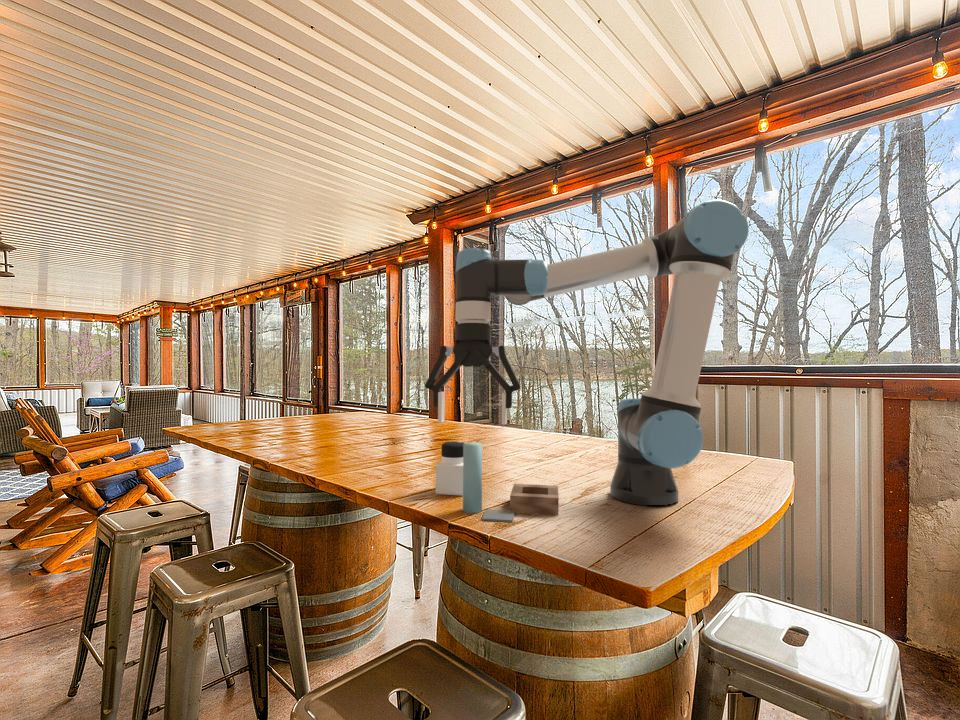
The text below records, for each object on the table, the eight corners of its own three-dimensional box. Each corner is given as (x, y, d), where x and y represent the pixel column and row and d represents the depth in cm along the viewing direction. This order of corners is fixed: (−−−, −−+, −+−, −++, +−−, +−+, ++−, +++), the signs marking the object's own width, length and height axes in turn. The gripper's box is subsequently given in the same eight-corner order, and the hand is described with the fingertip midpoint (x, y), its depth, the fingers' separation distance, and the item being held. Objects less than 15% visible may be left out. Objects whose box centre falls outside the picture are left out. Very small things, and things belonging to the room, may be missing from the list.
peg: (483, 508, 101) (483, 443, 101) (480, 513, 97) (480, 446, 97) (464, 507, 101) (465, 442, 101) (461, 512, 97) (461, 445, 97)
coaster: (514, 512, 98) (514, 510, 98) (512, 522, 92) (512, 520, 92) (486, 511, 99) (486, 509, 99) (482, 520, 93) (482, 518, 93)
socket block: (557, 501, 106) (557, 485, 106) (558, 515, 96) (558, 498, 96) (513, 498, 108) (513, 483, 108) (510, 512, 98) (510, 495, 98)
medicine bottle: (464, 496, 110) (464, 445, 110) (435, 494, 111) (435, 443, 111) (471, 488, 117) (471, 440, 117) (443, 486, 118) (444, 439, 118)
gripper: (532, 324, 101) (532, 422, 101) (421, 325, 105) (420, 419, 105) (531, 321, 94) (530, 426, 94) (411, 322, 98) (410, 423, 98)
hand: (472, 423), depth 99 cm, fingers open, 13 cm apart
